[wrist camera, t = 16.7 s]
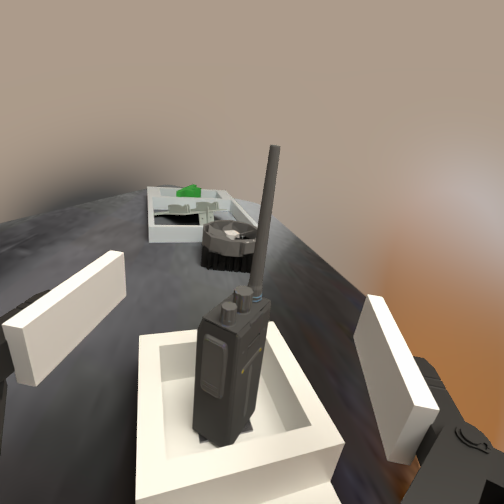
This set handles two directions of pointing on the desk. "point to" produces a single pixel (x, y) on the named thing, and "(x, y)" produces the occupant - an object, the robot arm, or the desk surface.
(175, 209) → the metal bracket
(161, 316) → the desk surface
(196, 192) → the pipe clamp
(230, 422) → the walkie-talkie
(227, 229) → the cpu cooler
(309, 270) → the desk surface
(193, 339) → the charging cradle
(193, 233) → the desk organiser
